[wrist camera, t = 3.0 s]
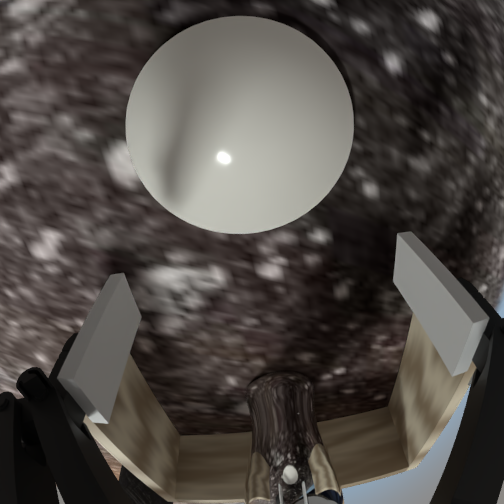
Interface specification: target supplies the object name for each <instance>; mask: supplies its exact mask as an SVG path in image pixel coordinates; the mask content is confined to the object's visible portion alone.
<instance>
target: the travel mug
mask: <svg viewBox="0 0 504 504" xmlns="http://www.w3.org/2000/svg"><path fill="white" fill-rule="evenodd" d="M118 482H119V483H120V485H121V486H122V488H123V489H124V491H125V492H126V494H127V495H128V497H129V498H130V500H131V501H132V503H133V504H173V502H168V501H166V500H165V499H164V498H162V497H161V496H160V495H158V494H157V493H156V492H155V491H153V490H152V489H151V488H149V487H148V486H147V485H146V484H144V483H143V482H142V481H141V480H140V479H138V478H137V477H136V476H135V475H134V474H133V473H131V472H130V471H129V470H128V469H127V468H126V467H124V466H123V465H122V467H121V472H120V476H119V481H118Z"/></svg>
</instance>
